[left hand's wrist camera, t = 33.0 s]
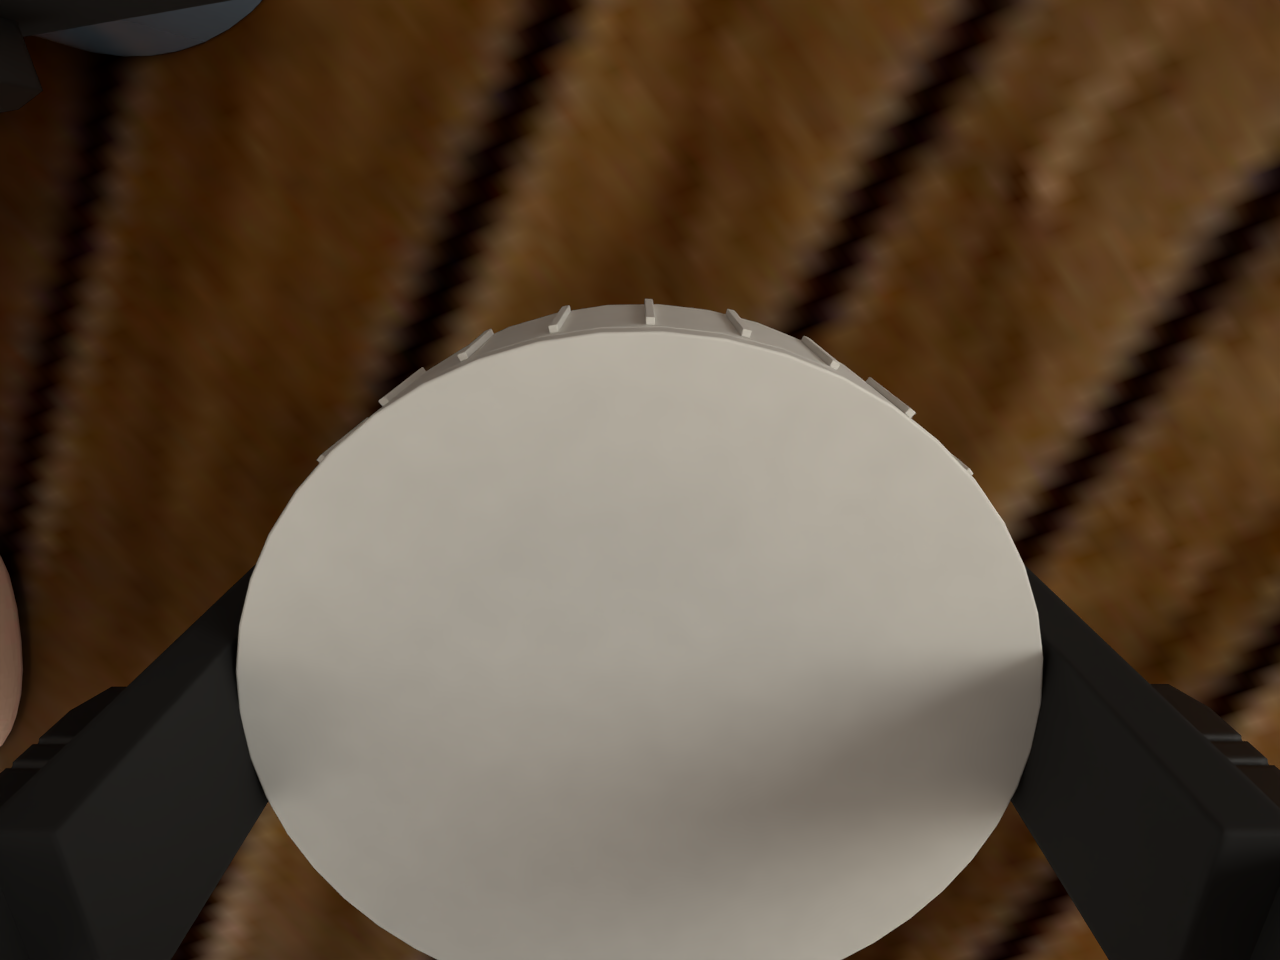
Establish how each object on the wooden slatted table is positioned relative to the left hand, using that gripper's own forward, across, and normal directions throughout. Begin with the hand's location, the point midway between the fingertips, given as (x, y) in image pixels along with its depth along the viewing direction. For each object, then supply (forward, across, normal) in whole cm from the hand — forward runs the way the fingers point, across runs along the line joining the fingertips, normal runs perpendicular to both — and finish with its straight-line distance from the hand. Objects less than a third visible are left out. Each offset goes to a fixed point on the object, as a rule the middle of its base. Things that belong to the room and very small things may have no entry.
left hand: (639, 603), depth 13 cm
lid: (-3, 0, 0) cm, 3 cm away
